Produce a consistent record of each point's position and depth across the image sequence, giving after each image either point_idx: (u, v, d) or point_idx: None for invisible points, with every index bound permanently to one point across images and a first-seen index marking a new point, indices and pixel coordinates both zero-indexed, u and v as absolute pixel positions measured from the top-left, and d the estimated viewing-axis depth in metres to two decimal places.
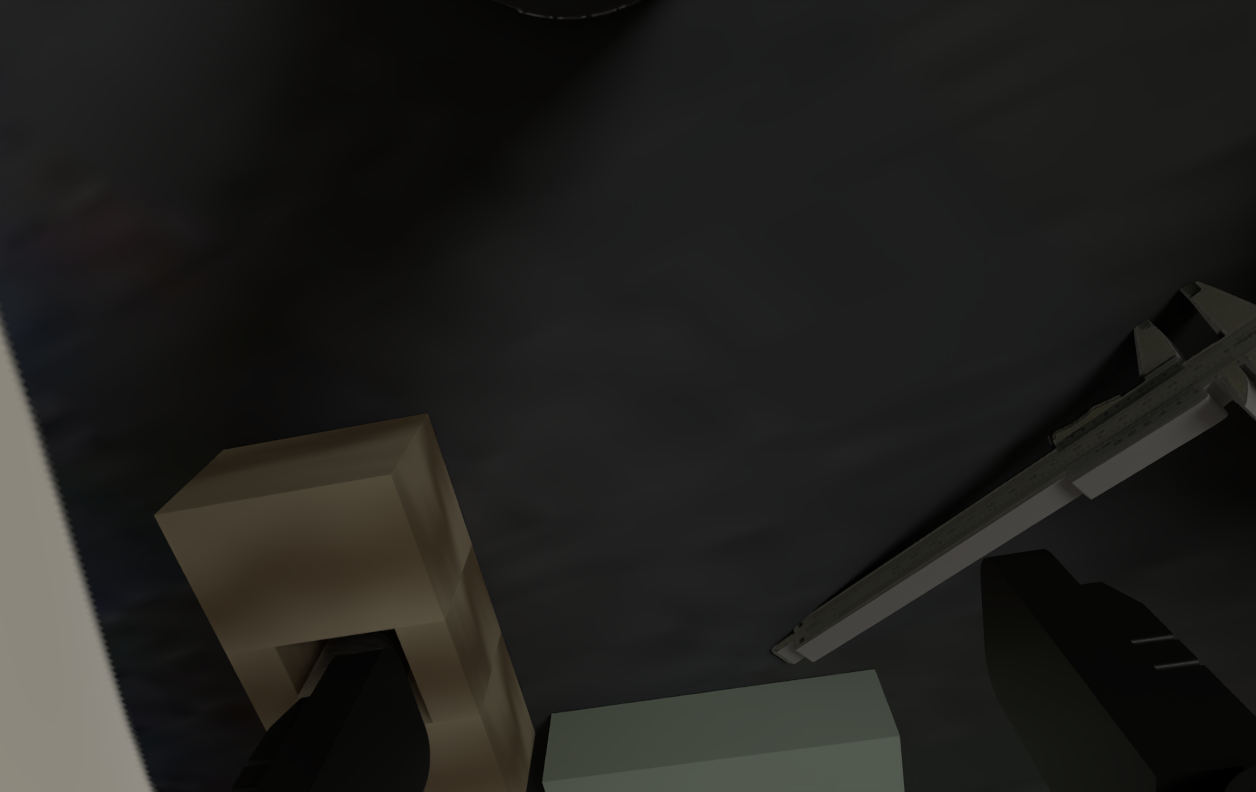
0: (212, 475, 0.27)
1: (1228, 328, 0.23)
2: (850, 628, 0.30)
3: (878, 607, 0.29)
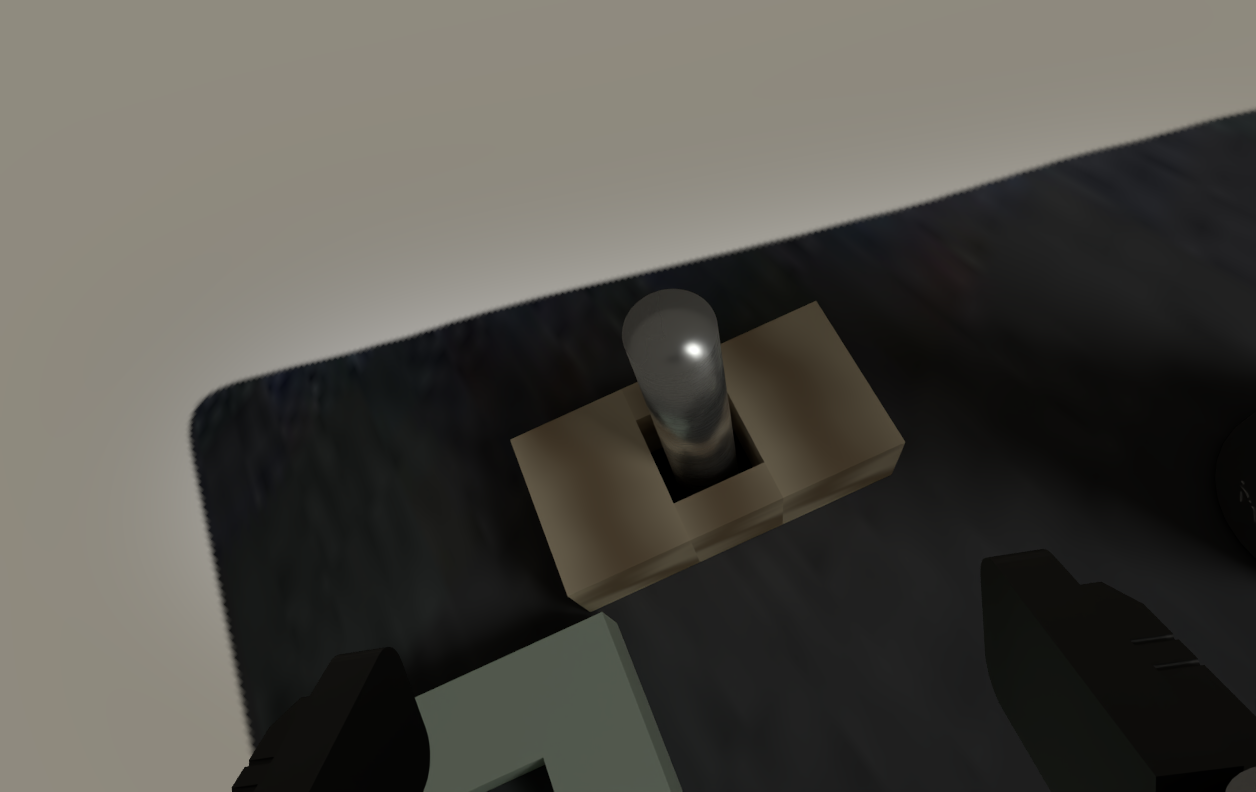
0: None
1: None
2: None
3: None
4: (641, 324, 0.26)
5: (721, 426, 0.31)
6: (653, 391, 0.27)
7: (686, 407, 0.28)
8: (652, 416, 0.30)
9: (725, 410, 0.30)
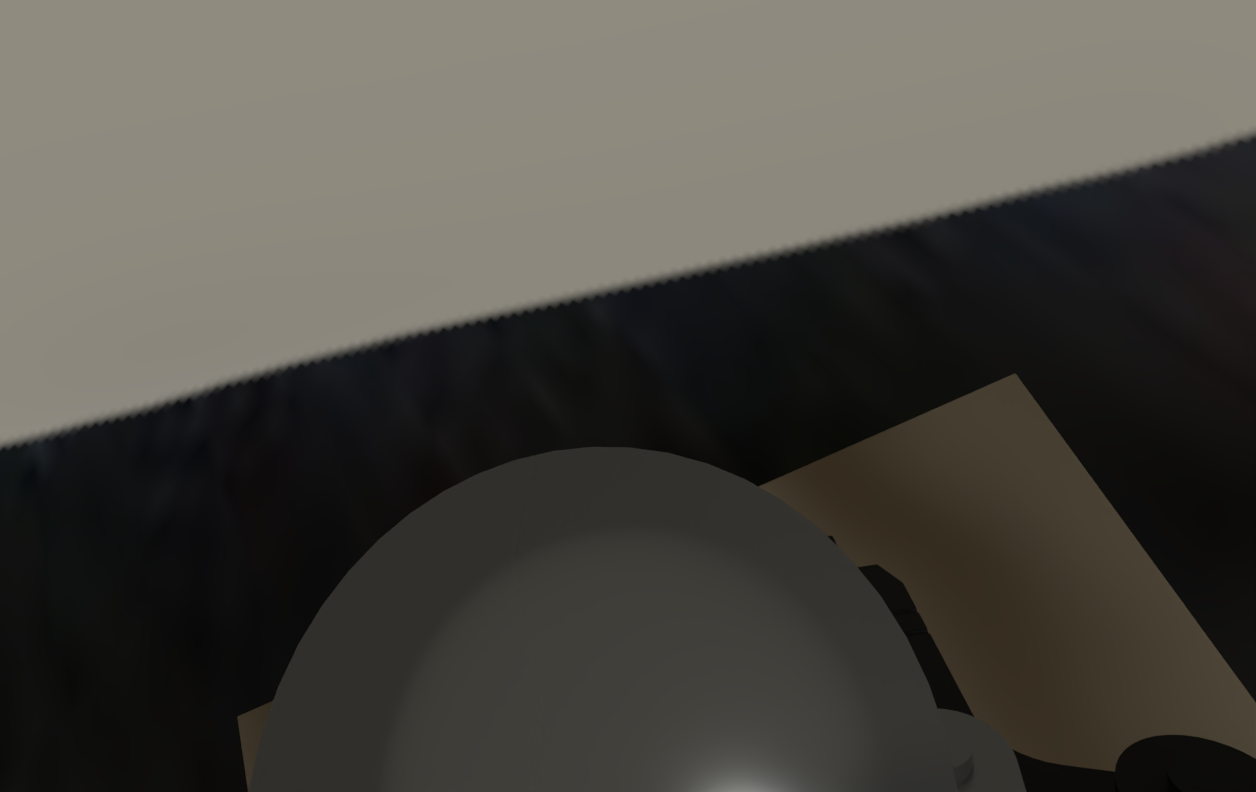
0: None
1: None
2: None
3: None
4: (391, 707, 0.04)
5: None
6: None
7: None
8: None
9: None
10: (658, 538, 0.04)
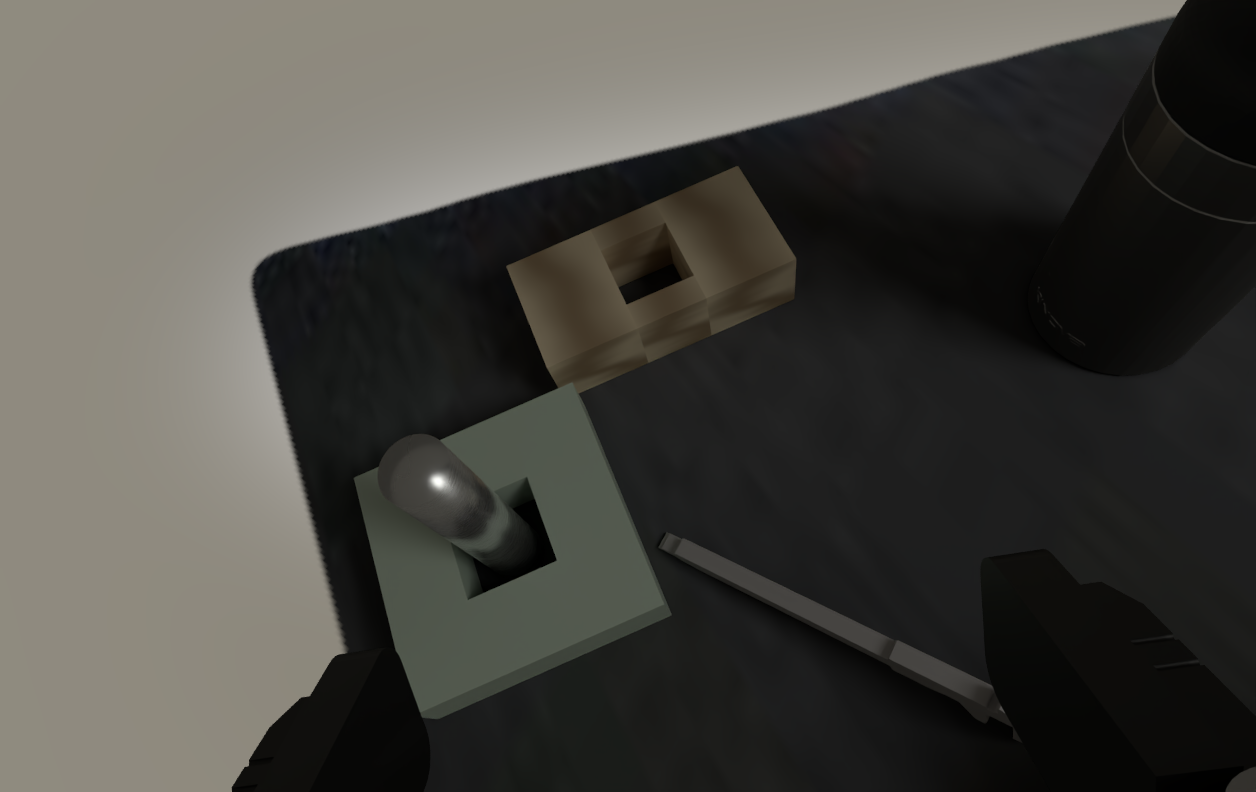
0: None
1: None
2: (715, 564, 0.42)
3: (741, 574, 0.41)
4: (393, 463, 0.33)
5: (490, 531, 0.37)
6: (409, 514, 0.33)
7: (441, 525, 0.34)
8: None
9: (490, 519, 0.37)
10: (425, 444, 0.33)
